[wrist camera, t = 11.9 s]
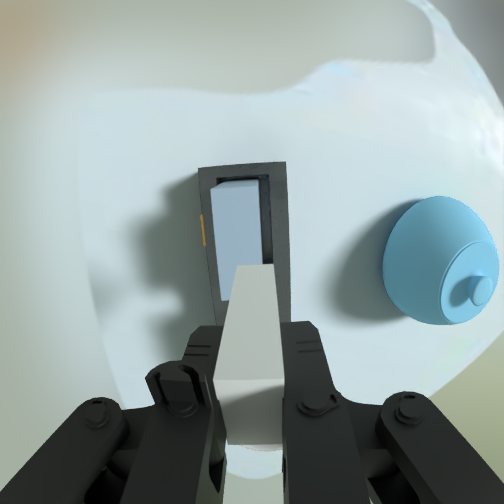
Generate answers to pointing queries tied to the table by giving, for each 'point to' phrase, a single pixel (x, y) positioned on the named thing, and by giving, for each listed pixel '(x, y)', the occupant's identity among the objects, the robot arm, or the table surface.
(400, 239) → the sugar bowl
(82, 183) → the table surface
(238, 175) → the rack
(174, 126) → the table surface
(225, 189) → the panel
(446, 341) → the table surface
